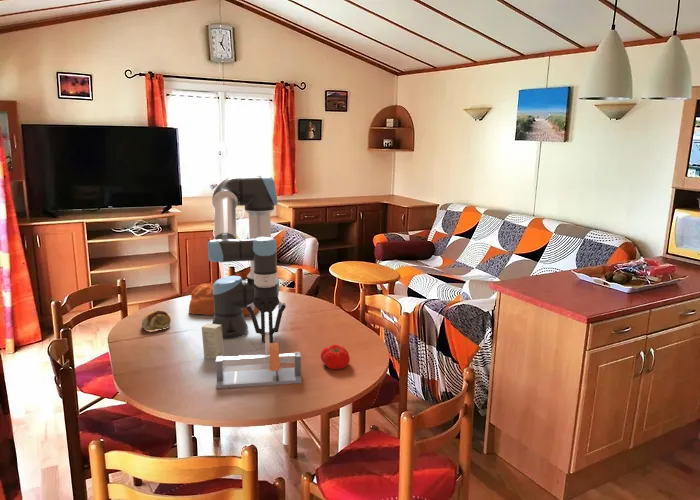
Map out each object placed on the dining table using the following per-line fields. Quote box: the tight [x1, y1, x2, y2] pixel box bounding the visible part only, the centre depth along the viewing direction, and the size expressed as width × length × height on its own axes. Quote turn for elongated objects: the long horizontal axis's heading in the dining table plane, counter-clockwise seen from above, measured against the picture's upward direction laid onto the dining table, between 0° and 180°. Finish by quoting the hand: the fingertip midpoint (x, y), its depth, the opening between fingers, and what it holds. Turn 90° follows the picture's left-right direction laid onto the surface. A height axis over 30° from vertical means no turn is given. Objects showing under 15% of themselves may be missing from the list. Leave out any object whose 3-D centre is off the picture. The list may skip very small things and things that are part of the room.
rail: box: [215, 351, 302, 382], centre depth 183 cm, size 28×4×7 cm, turn 99°
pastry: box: [141, 310, 172, 330], centre depth 230 cm, size 14×12×8 cm
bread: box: [188, 282, 260, 317], centre depth 251 cm, size 16×31×13 cm, turn 86°
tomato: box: [320, 344, 351, 370], centre depth 195 cm, size 10×11×7 cm
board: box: [215, 367, 302, 389], centre depth 184 cm, size 28×10×1 cm, turn 99°
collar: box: [269, 342, 280, 371], centre depth 183 cm, size 3×6×8 cm, turn 9°
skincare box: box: [201, 322, 225, 360], centre depth 201 cm, size 6×4×12 cm
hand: (267, 351), depth 183 cm, fingers closed
